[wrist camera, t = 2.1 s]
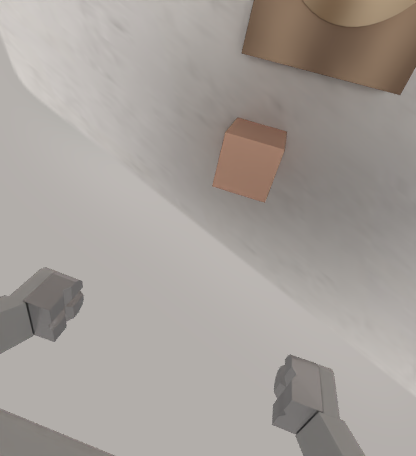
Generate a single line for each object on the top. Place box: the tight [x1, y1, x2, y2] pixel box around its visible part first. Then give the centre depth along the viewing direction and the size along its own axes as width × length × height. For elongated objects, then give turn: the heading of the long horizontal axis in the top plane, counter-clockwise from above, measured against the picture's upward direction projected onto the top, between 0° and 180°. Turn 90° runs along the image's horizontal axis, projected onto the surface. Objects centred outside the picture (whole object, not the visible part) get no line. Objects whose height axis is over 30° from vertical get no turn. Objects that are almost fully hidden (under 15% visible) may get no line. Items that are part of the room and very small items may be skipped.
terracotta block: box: [212, 118, 287, 203], centre depth 27 cm, size 5×5×6 cm
